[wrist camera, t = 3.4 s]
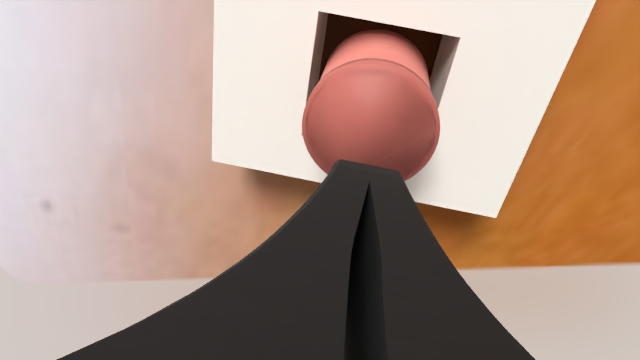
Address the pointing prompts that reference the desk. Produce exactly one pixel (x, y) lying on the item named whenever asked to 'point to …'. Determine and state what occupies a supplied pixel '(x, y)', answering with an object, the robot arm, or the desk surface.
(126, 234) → the desk surface
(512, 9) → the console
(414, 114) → the red plug
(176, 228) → the desk surface
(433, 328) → the robot arm
